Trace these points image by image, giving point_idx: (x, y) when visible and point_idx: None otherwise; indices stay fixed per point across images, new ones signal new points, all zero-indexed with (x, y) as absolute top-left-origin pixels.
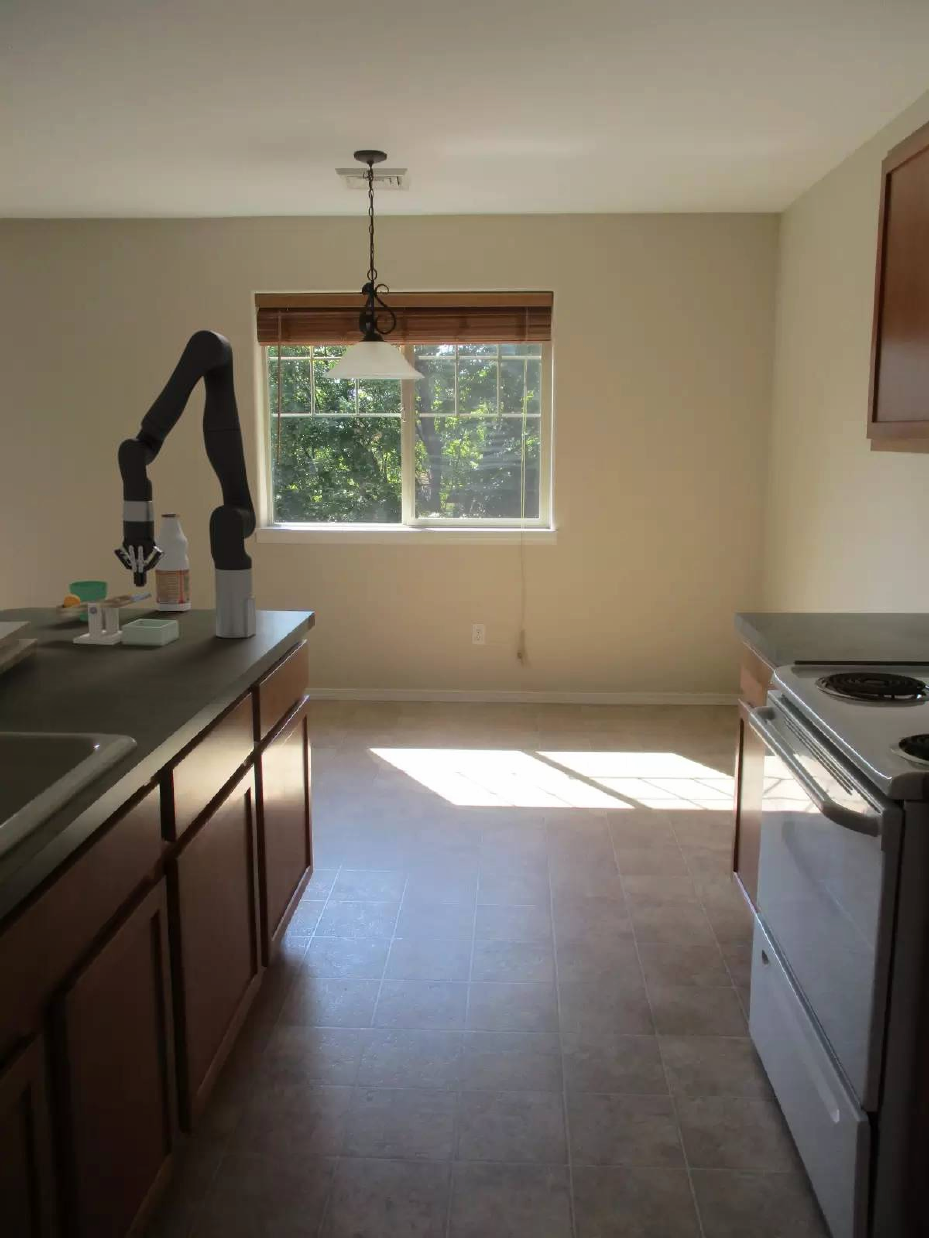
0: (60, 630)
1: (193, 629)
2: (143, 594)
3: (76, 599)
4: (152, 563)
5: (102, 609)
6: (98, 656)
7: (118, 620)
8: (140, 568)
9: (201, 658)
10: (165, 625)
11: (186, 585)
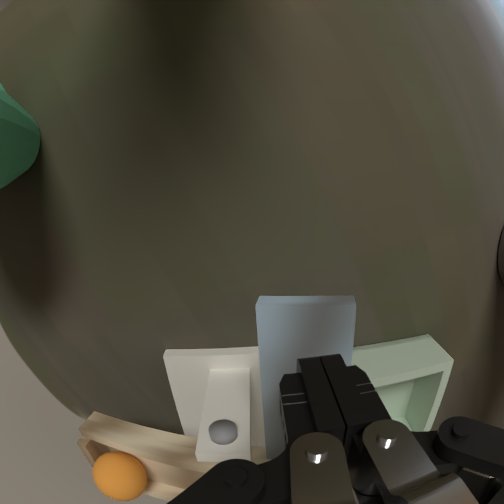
0: (49, 322)
1: (429, 190)
2: (320, 336)
3: (139, 494)
4: (482, 494)
5: None
6: None
7: (249, 392)
8: (370, 499)
9: None
10: (430, 423)
11: None
